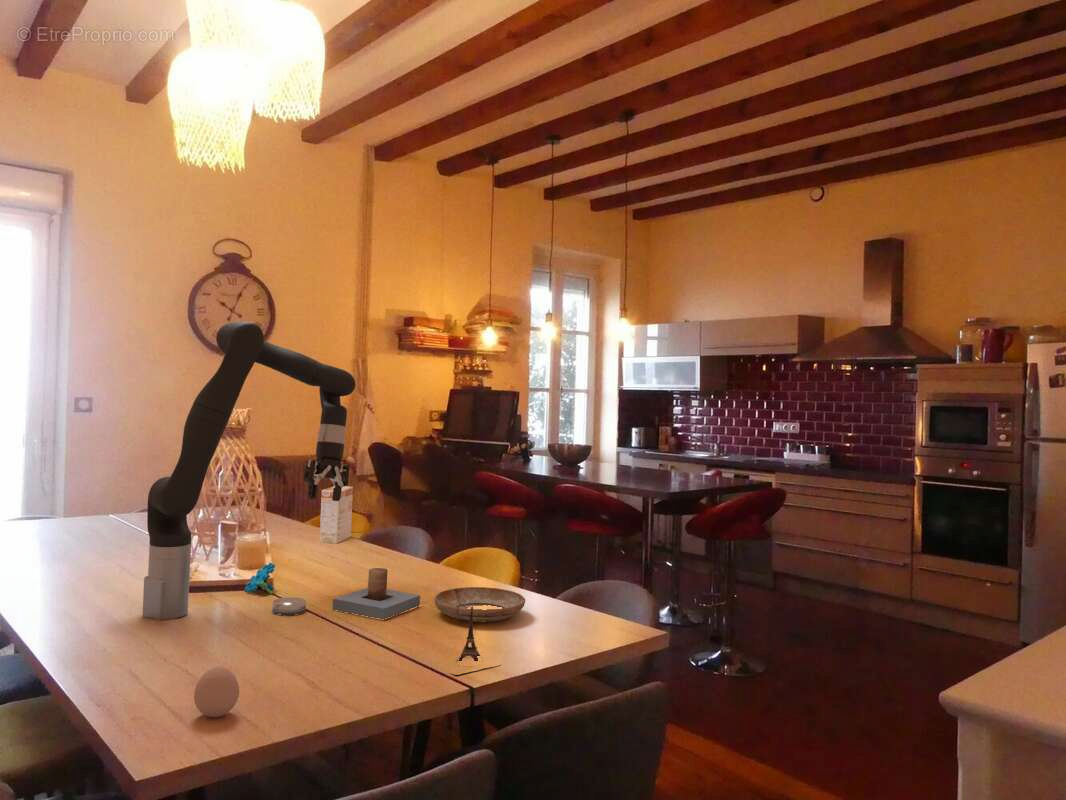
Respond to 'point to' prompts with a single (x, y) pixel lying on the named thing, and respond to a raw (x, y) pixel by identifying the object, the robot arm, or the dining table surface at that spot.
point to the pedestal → (289, 606)
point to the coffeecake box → (336, 515)
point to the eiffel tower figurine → (470, 639)
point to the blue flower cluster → (261, 579)
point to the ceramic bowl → (479, 603)
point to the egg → (216, 692)
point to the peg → (377, 584)
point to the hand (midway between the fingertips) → (324, 499)
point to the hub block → (376, 603)
